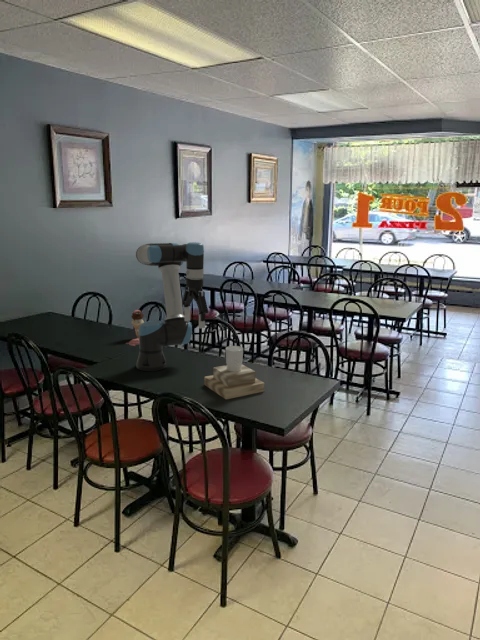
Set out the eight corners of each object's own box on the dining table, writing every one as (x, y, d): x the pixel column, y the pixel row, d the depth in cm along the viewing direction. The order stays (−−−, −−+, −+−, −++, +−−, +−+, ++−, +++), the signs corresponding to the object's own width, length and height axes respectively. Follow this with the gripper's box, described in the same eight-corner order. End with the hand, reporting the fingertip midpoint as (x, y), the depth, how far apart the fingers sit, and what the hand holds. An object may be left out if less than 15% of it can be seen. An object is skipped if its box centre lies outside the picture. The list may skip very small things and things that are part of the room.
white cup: (244, 367, 230) (245, 346, 228) (240, 373, 223) (240, 351, 221) (228, 365, 232) (228, 345, 230) (223, 371, 225) (223, 349, 223)
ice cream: (140, 336, 314) (139, 308, 309) (155, 341, 303) (155, 312, 298) (117, 340, 302) (116, 311, 298) (133, 346, 291) (132, 316, 287)
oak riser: (204, 384, 233) (204, 366, 231) (241, 377, 243) (241, 360, 241) (225, 399, 216) (226, 379, 214) (264, 391, 226) (264, 372, 224)
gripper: (174, 274, 229) (174, 318, 235) (201, 283, 209) (200, 332, 215) (189, 273, 233) (188, 317, 239) (216, 282, 214) (215, 330, 219)
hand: (194, 324), depth 227 cm, fingers open, 13 cm apart
